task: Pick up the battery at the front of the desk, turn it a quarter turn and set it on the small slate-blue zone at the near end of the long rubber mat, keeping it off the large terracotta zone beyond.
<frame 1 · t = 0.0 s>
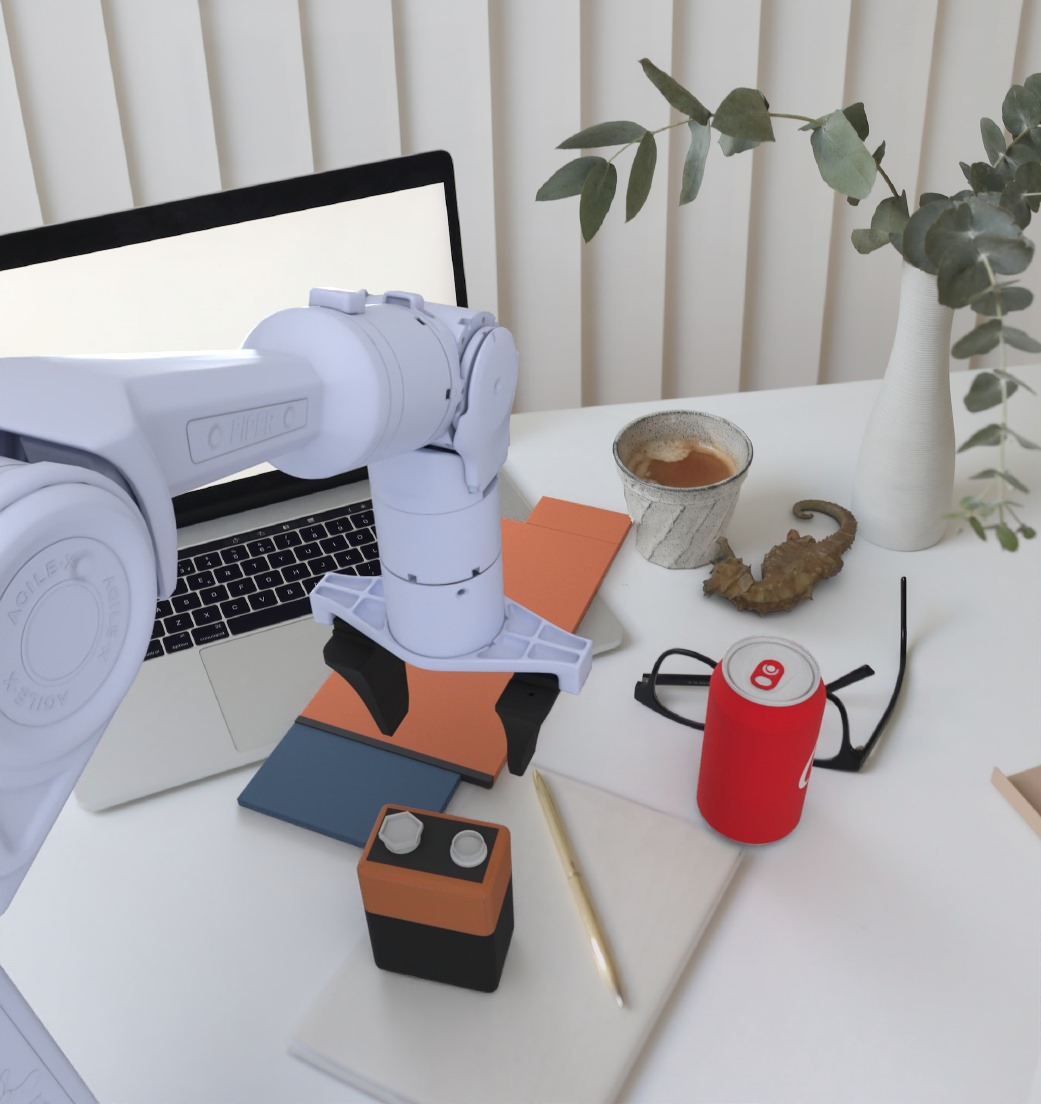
hand: (457, 742, 58), 8 cm above the table, tool pointing down, fingers open, 7 cm apart
sorting mat: (464, 643, 76), on the table
battery: (446, 950, 58), on the table
beverage can: (746, 811, 65), on the table
seahorse: (778, 563, 83), on the table
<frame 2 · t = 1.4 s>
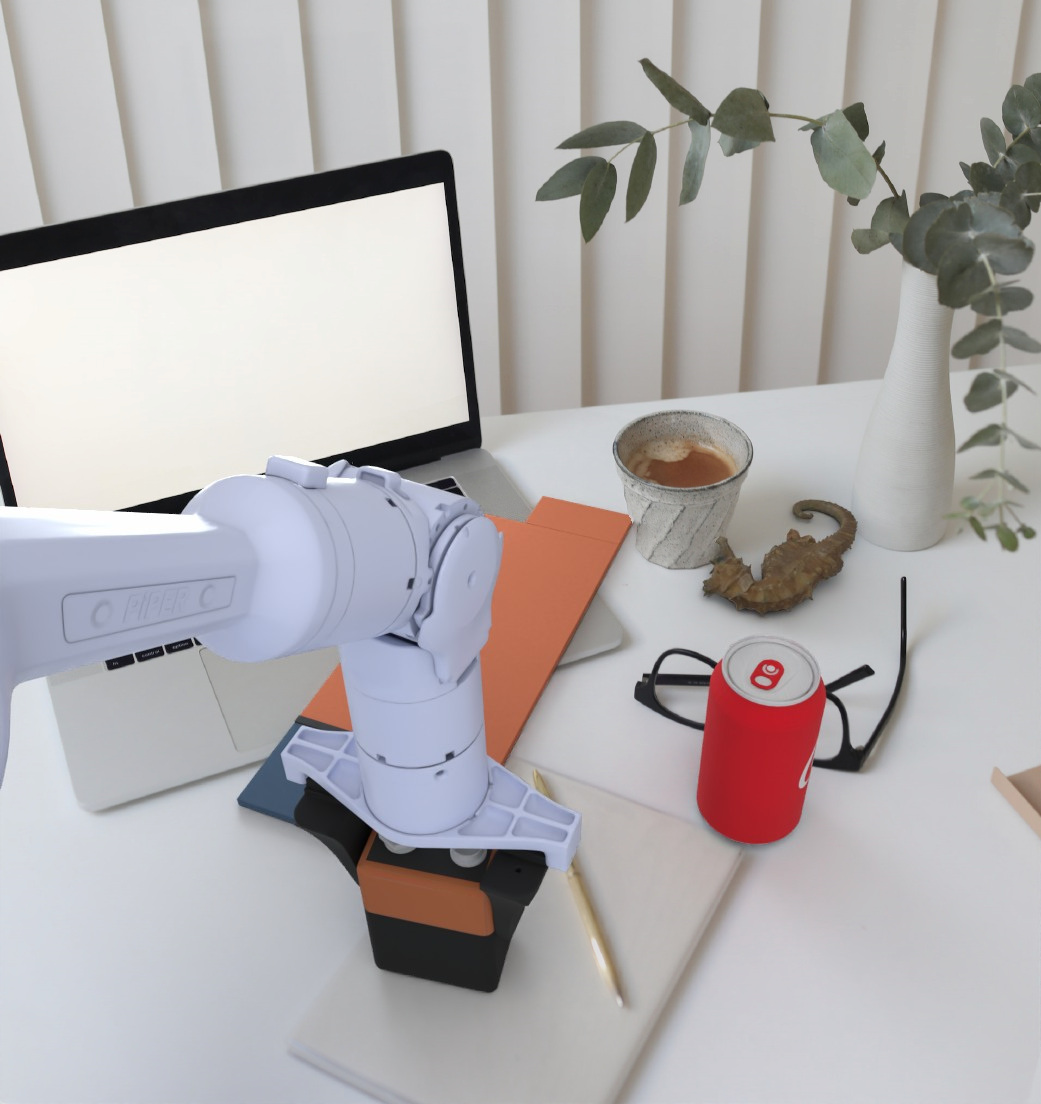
hand: (440, 897, 55), 5 cm above the table, tool pointing down, fingers open, 7 cm apart
battery: (445, 950, 58), on the table, touching gripper
everything else where it was.
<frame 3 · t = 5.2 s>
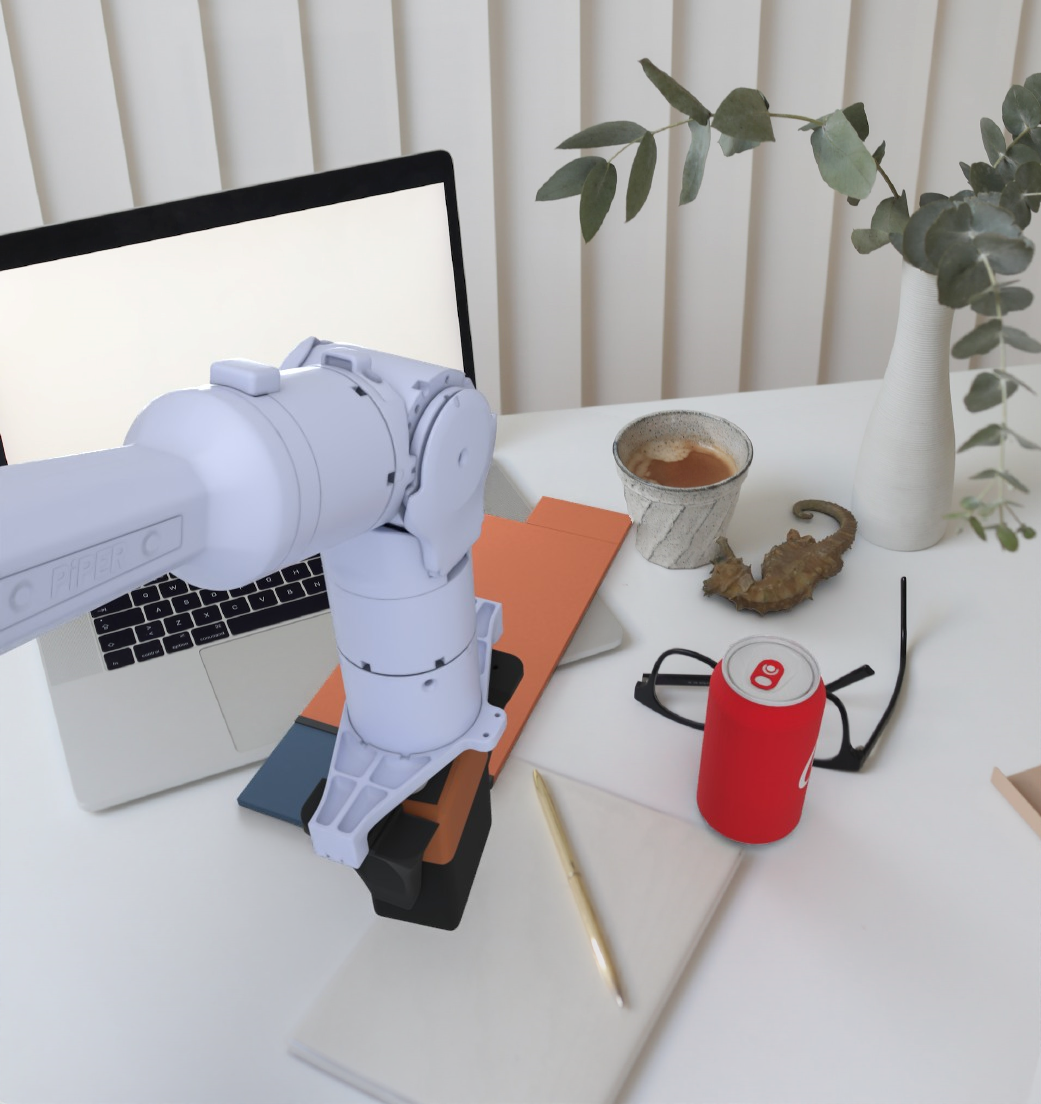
hand: (430, 833, 52), 10 cm above the table, tool pointing down, fingers closed on battery, 7 cm apart
battery: (435, 871, 54), point 7 cm above the table, touching gripper
everything else where it was.
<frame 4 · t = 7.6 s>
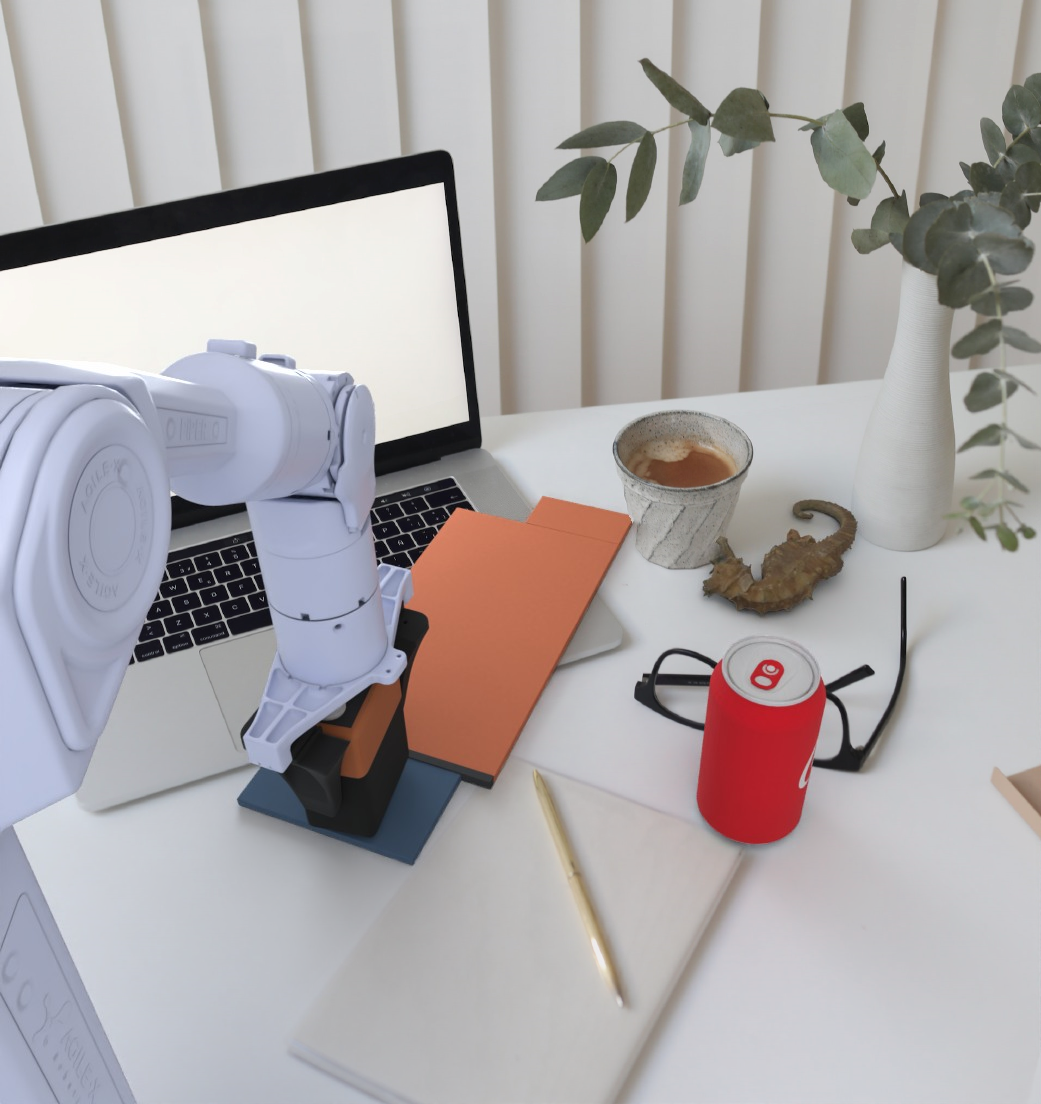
hand: (354, 759, 63), 4 cm above the table, tool pointing down, fingers closed on battery, 7 cm apart
battery: (361, 792, 65), point 1 cm above the table, touching gripper
everything else where it was.
when the fingers open (4 cm above the table, at t = 8.9 s): battery stays where it is, resting on sorting mat.
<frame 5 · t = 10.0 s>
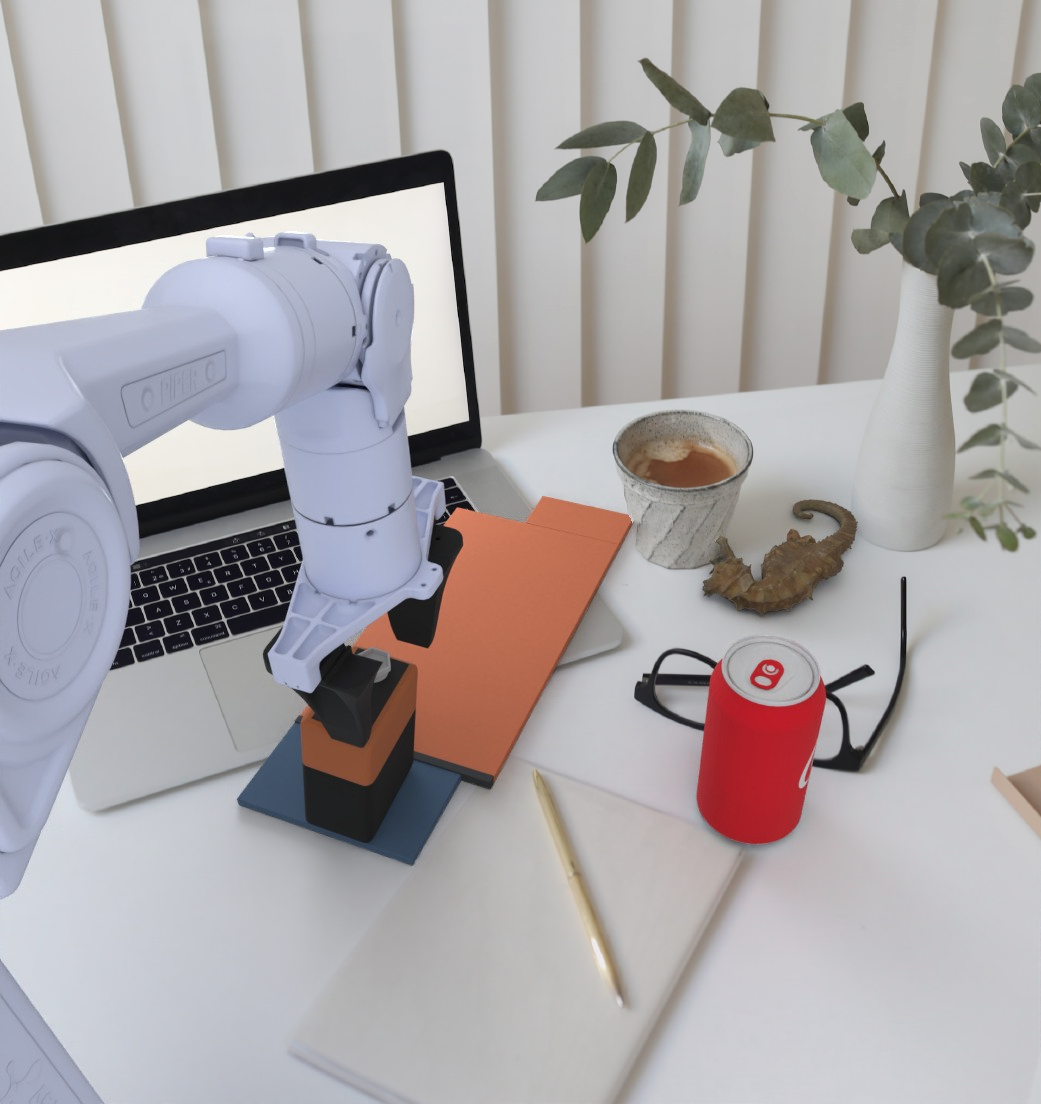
hand: (383, 687, 59), 10 cm above the table, tool pointing down, fingers open, 7 cm apart
battery: (360, 795, 65), point 1 cm above the table, touching gripper, sorting mat
everything else where it was.
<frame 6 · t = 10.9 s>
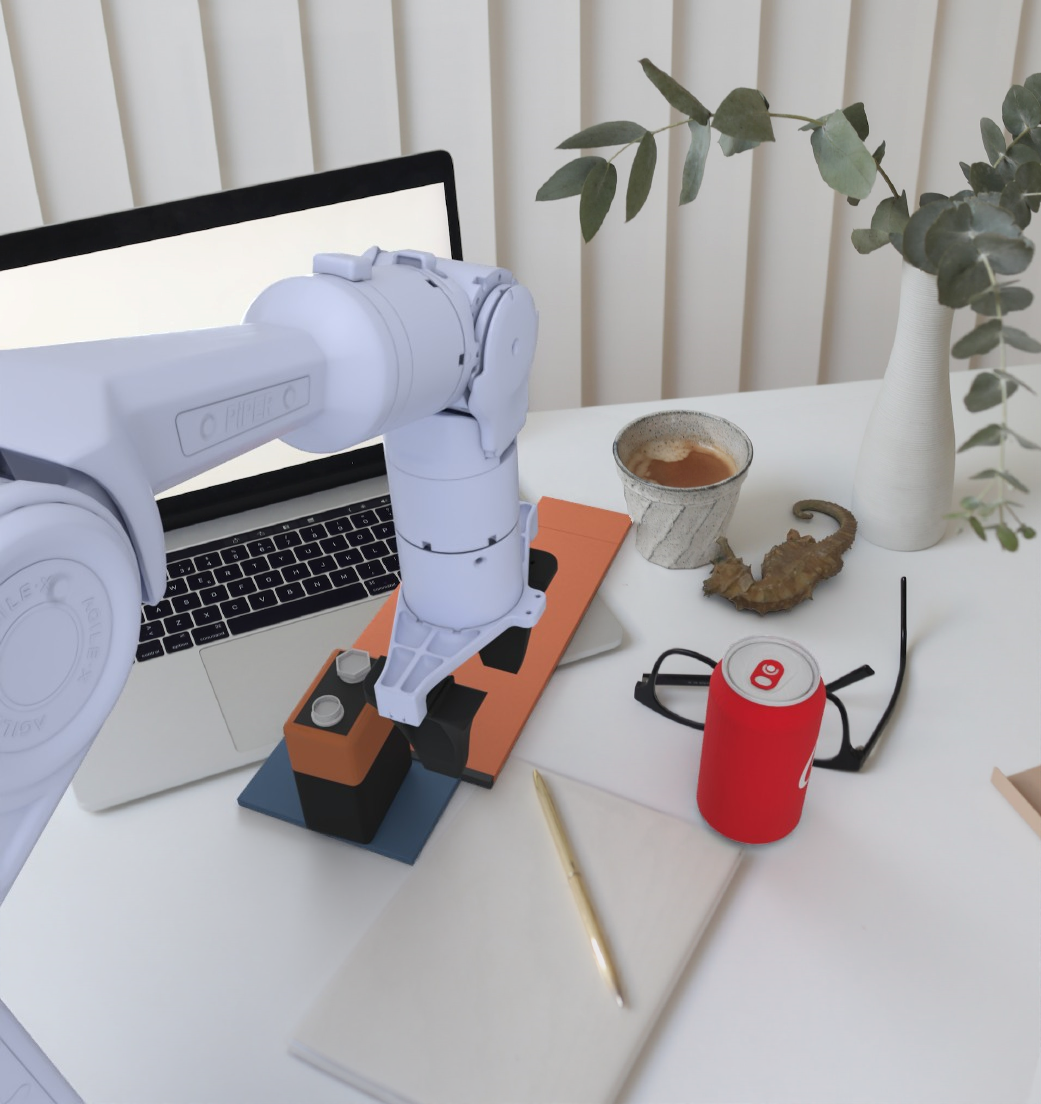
hand: (474, 715, 57), 10 cm above the table, tool pointing down, fingers open, 7 cm apart
battery: (361, 798, 65), resting on sorting mat
everything else where it was.
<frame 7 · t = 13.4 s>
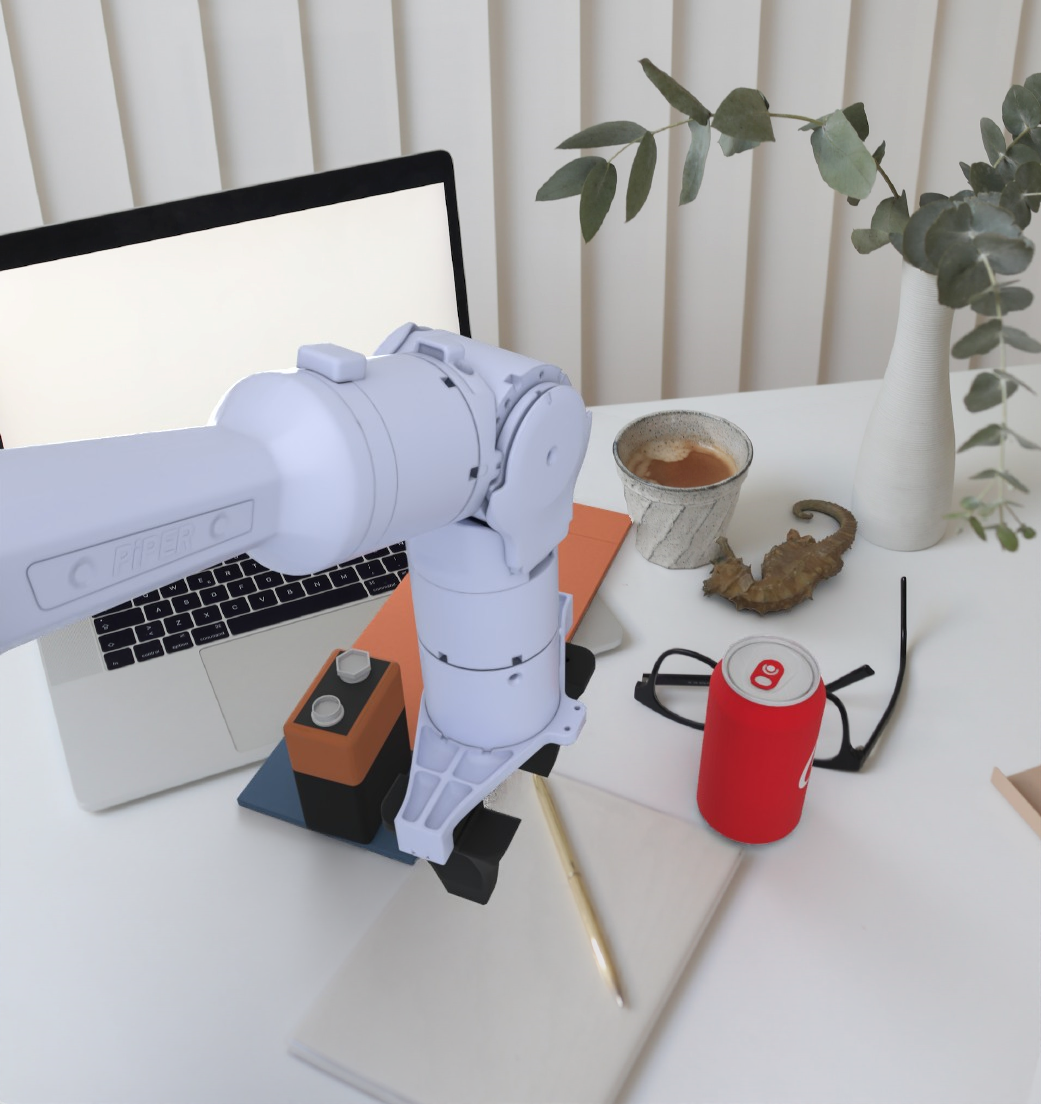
hand: (501, 826, 51), 10 cm above the table, tool pointing down, fingers open, 7 cm apart
nothing on the table moved.
at the end: battery inside the target area on the sorting mat (1.2 cm from its centre), point 0.4 cm above the sorting mat's base; battery tilted 0°; the gripper is holding nothing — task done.
